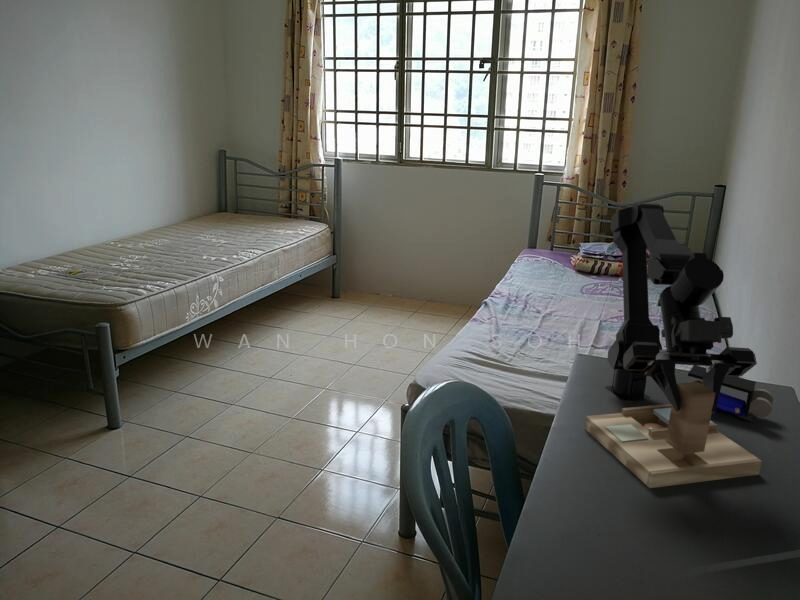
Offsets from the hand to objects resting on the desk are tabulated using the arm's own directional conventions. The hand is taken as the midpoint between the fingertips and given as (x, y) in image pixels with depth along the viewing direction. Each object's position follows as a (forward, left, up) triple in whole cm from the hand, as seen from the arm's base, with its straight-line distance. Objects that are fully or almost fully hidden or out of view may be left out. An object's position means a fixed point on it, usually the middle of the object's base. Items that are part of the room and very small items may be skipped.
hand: (695, 411), depth 97 cm
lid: (-12, +9, -9) cm, 18 cm away
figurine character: (-19, +24, -12) cm, 33 cm away
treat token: (-12, +3, -11) cm, 17 cm away
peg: (-1, 0, -7) cm, 7 cm away
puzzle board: (-7, +2, -12) cm, 14 cm away
